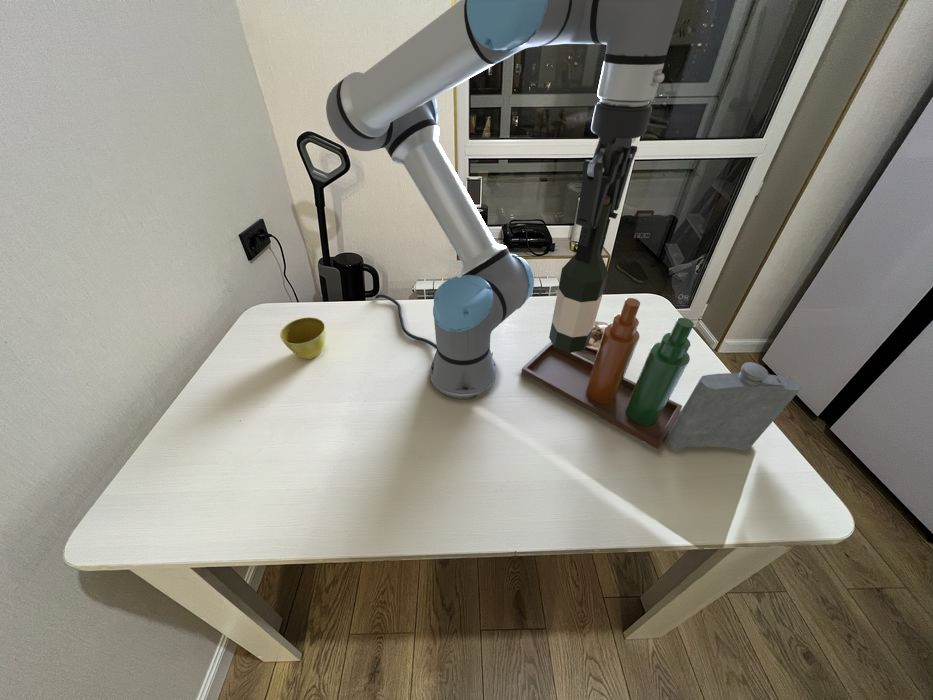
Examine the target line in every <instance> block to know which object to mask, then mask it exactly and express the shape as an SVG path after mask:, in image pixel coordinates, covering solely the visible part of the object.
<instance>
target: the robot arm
mask: <svg viewBox="0 0 933 700" xmlns="http://www.w3.org/2000/svg"><path fill="white" fill-rule="evenodd" d="M682 3H683V0H459V1H458V2H455V4H454V5H452V6H451V7H449V8H448V9H447V10H446V11H444V12H443V13H441V14H440V15H439V16H437V17H436V18H435V19H433V20H432V21H431V22H430V23H428V24H427V25H426V26H424V27H423V28H422V29H420V30H419V31H418V32H416V33H415V34H414V35H412V36H411V37H409V38H408V39H406V41H404V42H403V43H402V44H400V45H399V46H398V47H396V48H395V49H393V50H392V51H391V52H389V54H387V55H386V56H384V58H381V59H380V61H378V62H376V63H375V64H374V65H372V66H371V67H370V68H368V69H367V70H366V71H364V72H360V71H355V72H351V73H349V74H348V75H346V76H345V77H343V78H342V79H341V80H339V82H338V83H336V84H335V85H334V86H333V88H331V90H330V92H329V94H328V96H327V99H326V105H325V111H326V112H325V113H326V118H327V122H328V125H329V127H330V129H331V131H332V134H334V136H335V137H336V138H337V139H338V141H339V142H340V143H342V144H344V145H345V146H346V147H348V148H350V149H351V150H355V151H359V152H372V151H376V150H379V149H385V150H386V152H387V154H388V155H389V157H390V158H391V161H392V162H393V163H395V164H399V165H403V166H404V168H405V169H406V171H407V173H408V174H409V176H410V178H411V179H412V181H413V183H414V184H415V186H416V188H417V189H418V191H419V193H420V195H421V196H422V198H423V199H424V202H425V203H426V204H427V206H428V208H429V210H430V211H431V213H432V215H433V216H434V218H435V220H436V221H437V223H438V225H439V227H440V228H441V229H442V231H443V233H444V235H445V237H446V238H447V240H448V241H449V244H450V245H451V246H452V248H453V249H454V252H455V254H456V255H457V256H458V258H459V260H460V261H461V263H462V268H461V273H460V275H461V276H454V277H450V278H449V279H447V280H445V281H444V282H442V283H441V284H440V285H439V286H438V288H437V289H436V291H435V292H434V296H433V308H432V315H433V322H434V334H435V342H434V341H431V340H430V339H427V338H424V337H420V336H417V335H415V334H412V333H411V332H410V331H409V330H407V328H406V327H405V322H404V318H403V312H402V306H401V304H400V303H399V302H398V301H397V300H396V299H394V298H393V297H391V296H389V295H386V294H382V293H381V294H380V293H379V294H377V295H375V296H374V298H375V299H379V298H383V299H386V300H389V301H390V302H392V303H393V304H394V305H396V307H397V313H398V319H399V322H400V327H401V330H402V332H403V333H404V334H405V335H406V336H407V337H409V338H411V339H412V340H416V341H419V342H423V343H426V344H427V345H429V346H431V347H432V348H434V349H435V350H436V351H435V353H434V357H433V359H432V362H431V365H430V380H431V383H432V385H433V387H434V388H435V389H436V390H437V391H438V392H439V393H441V394H442V395H444V396H446V397H448V398H452V399H458V400H470V399H475V398H478V396H479V395H482V394H483V393H486V392H487V391H488V390H489V389H491V387H493V385H494V383H495V381H496V380H497V366H496V362H495V360H494V358H493V355H494V351H491V334H492V332H493V331H494V330H495V329H496V328H497V327H498V326H499V325H500V324H502V323H503V322H504V321H506V320H507V319H508V318H509V317H510V316H511V315H513V313H515V312H516V311H517V310H519V309H521V308H522V306H523V305H524V304H525V303H526V302H527V300H529V298H531V295H532V294H533V290H534V286H535V278H534V277H535V276H534V273H533V271H532V268H531V266H530V265H529V263H528V261H526V260H525V259H524V258H523V257H520V256H519V255H518V254H514V253H510V251H509V248H508V247H507V245H504V244H501V243H497V242H496V241H495V239H494V237H493V235H492V233H491V231H490V230H489V228H488V225H486V223H485V221H484V219H483V218H482V215H481V214H480V212H479V211H478V209H477V207H476V205H475V204H474V202H473V200H472V198H471V196H470V194H469V193H468V191H467V189H466V187H465V186H464V185H463V182H462V181H461V179H460V178H459V177H460V176H459V175H458V174H457V172H456V170H455V169H454V166H453V165H452V163H451V161H450V160H449V158H448V157H447V155H446V153H445V151H444V149H443V147H442V146H441V144H440V143H439V136H440V131H441V130H440V127H439V125H438V120H439V113H438V112H437V109H438V103H437V99H436V98H438V97H439V96H441V95H442V94H444V93H445V92H447V91H449V90H451V89H453V88H455V87H457V86H458V85H460V84H462V83H463V82H465V81H467V80H469V79H470V78H472V77H474V76H476V75H478V74H480V73H482V72H483V71H485V70H487V69H489V68H490V67H493V66H494V65H496V64H498V63H500V62H502V61H504V60H507V59H509V58H510V57H512V56H513V55H515V54H517V53H519V52H521V51H523V50H525V49H528V48H535V47H544V46H554V45H566V44H567V45H601V46H602V45H606V47H605V54H604V58H603V63H602V69H601V74H600V78H599V83H598V88H597V94H596V96H597V97H598V99H600V100H598V101H597V103H596V104H595V105H594V111H593V116H592V121H591V126H590V130H591V133H593V134H594V135H597V137H598V141H597V144H596V147H595V149H594V154H593V157H592V160H589V159H585V160H584V162H583V164H582V182H581V188H580V193H579V199H578V206H577V212H576V217H575V218H576V219H575V225H578V226H581V228H580V233H579V238H578V242H577V245H576V246H577V247H576V251H575V254H576V256H575V260H579V261H581V262H584V263H587V264H590V262H591V260H592V255H593V251H594V247H595V243H596V239H597V235H598V231H599V226H597V224H598V221H599V217H600V214H601V211H602V208H603V204H604V201H605V198H606V195H607V196H609V197H610V202H611V203H612V205H611V209H610V213H609V217H608V221H607V225H606V229H605V233H604V237H603V241H602V245H601V249H600V252H601V255H602V253H603V250H604V246H605V242H606V239H607V234H608V229H609V227H610V223H611V219H614V220H616V219H617V217H618V215H619V214H618V212H617V211H619V208H620V206H621V205H620V204H621V201H622V198H623V194H624V192H625V188H626V184H627V181H628V177H629V174H630V170H631V167H632V163H633V161H634V160H635V156H636V154H637V152H638V146H637V145H632V144H633V139H638V138H641V137H643V136H644V135H645V133H646V132H647V128H648V124H649V121H650V117H651V114H652V110H653V107H652V104H651V103H649V102H651V101H653V100H654V99H655V98H656V94H657V91H658V87H659V84H660V83H663V82H664V80H665V74H664V73H663V70H664V67H665V62H666V58H667V54H668V51H669V48H670V44H671V41H672V37H673V34H674V31H675V27H676V24H677V20H678V18H679V17H678V16H679V13H680V10H681V7H682ZM615 211H616V212H617V213H616V212H615Z"/></svg>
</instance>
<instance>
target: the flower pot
mask: <svg viewBox="0 0 933 700" xmlns="http://www.w3.org/2000/svg"><path fill="white" fill-rule="evenodd" d="M279 337H280V339H281V341H282V342H283V344H284V345H285V346H286V347H287V349H289V350H290V351H291V352H292V353H293V354H295V355H296V356H298V357H300V358H302V359H305V360H311V359H315V358H317V357H318V356H320V355H321V353H322V352H323V349H324V346H325V344H326V343H325V342H326V325H325V323H324V321H323V320H321V319H320V318H316V317H300V318H297V319H294V320H292V321H290V322H288V323H287V324H285V326H283V327H282V329H281V331H280V334H279Z"/></svg>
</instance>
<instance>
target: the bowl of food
mask: <svg viewBox="0 0 933 700" xmlns="http://www.w3.org/2000/svg"><path fill="white" fill-rule="evenodd" d="M608 324H609V323H607V322H603V321H597V320H595V323H594V327H593V330H592V334H591V337H590V341H589V344H588V345H587V346H586V348H585V349H584V351H583V352H586V353H589V354H593V355H595V356H596V355H597V352H598V348H599V345H600V342H601V339H602V335H603V332H604V329H605V327H606V326H607V325H608Z"/></svg>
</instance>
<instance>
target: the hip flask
mask: <svg viewBox="0 0 933 700" xmlns="http://www.w3.org/2000/svg"><path fill="white" fill-rule="evenodd" d="M801 390H802V385H801V384H800V382H799V381H797V379H796V380H795V379H794V378H792V377H789V376H784V375H777V374H776V375H775V374H769V371H768V370H767V369H766V367H764V366H763V365H761V364H759V363H756V362H752V361H748V362H744V363H743V364H742V365H741V367H740V372H725V373H723V372H722V373H712V374H705V375H702V376H701V377H700V378H699V380H698V382H697V383H696V385H695V387H694V389H693V390H692V392H691V394H690V396H689V397H688V399H687V401H686V402H685V404H684V406H682V408H681V410H680V412H679V413H678V415H677V417H676V419H675V421H674V422H673V424H672V426H671V428H670V429H669V431H668V433H667V435H666V436H665V442H666V444H667V445H668V446H669V447H671V448H673V449H685V448H693V447H695V448H696V447H717V448H728V449H736V450H742V451H748V450H750V449H751V447H752V446H753V445H754V444H755V443H756V442H757V440H758V439H759V438H760V437H761V436H762V435H763V434H764V433H765V431H766V430H768V428H769V426H770V425H772V423H773V422H774V421H775V419H777V418H778V416H779V415H780V414H781V412H783V410H785V408H786V407H787V406H788V405H789V404H790V403H791V401H792V400H793V399H794V398H795V397H796V395H797V394H798V393H799V392H800V391H801Z"/></svg>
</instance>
